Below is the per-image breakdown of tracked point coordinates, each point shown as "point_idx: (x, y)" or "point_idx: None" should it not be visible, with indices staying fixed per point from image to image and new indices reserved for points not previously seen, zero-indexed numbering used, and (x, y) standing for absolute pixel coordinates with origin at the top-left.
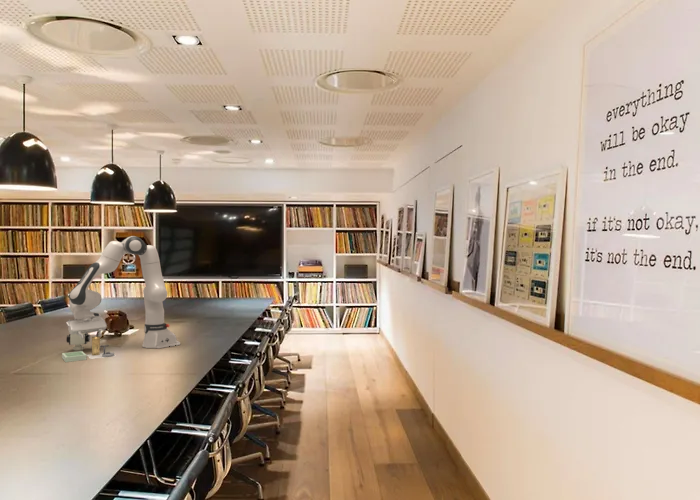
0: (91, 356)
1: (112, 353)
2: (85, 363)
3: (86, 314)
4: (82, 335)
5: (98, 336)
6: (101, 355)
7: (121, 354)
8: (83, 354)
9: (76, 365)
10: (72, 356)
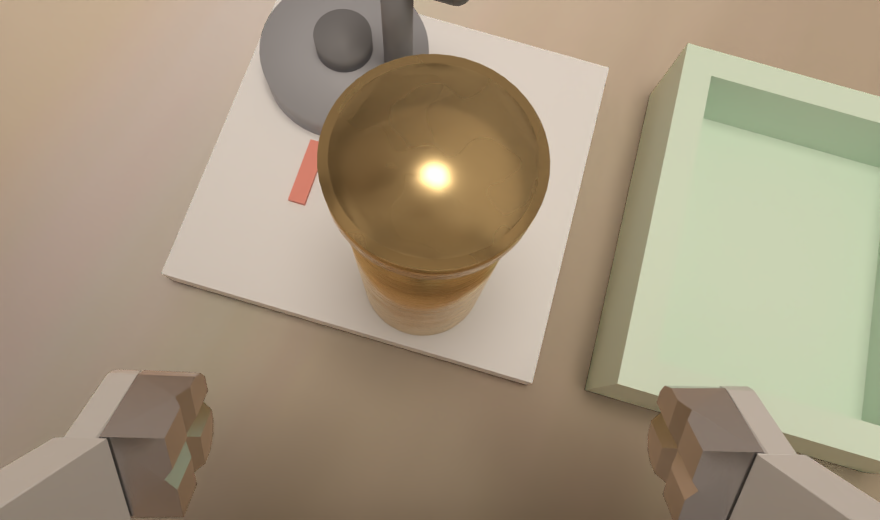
0: None
1: (297, 14)
2: (698, 15)
3: None
4: (761, 433)
5: (334, 193)
6: None
7: (115, 113)
8: (700, 125)
9: (811, 5)
10: (876, 109)
